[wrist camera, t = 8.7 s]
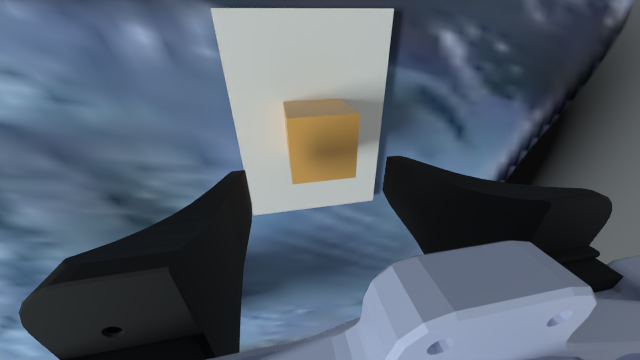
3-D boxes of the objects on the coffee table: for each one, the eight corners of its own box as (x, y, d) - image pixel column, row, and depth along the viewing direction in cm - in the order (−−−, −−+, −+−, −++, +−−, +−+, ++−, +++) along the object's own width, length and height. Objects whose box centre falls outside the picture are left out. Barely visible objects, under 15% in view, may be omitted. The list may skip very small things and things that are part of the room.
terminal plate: (369, 195, 25) (387, 221, 21) (254, 209, 23) (250, 241, 19) (387, 10, 17) (422, -2, 13) (214, 10, 15) (193, -4, 11)
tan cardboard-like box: (338, 150, 20) (355, 177, 16) (288, 155, 20) (292, 184, 15) (339, 98, 18) (359, 113, 14) (282, 101, 17) (286, 118, 13)
